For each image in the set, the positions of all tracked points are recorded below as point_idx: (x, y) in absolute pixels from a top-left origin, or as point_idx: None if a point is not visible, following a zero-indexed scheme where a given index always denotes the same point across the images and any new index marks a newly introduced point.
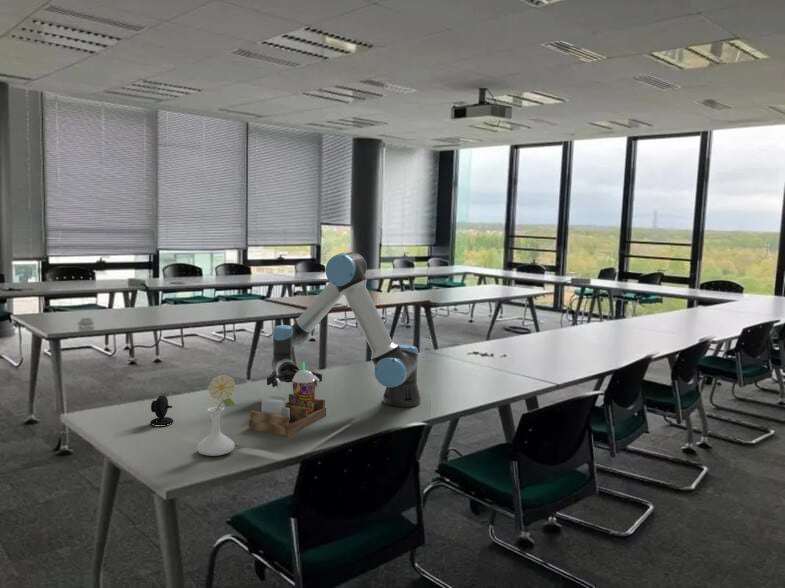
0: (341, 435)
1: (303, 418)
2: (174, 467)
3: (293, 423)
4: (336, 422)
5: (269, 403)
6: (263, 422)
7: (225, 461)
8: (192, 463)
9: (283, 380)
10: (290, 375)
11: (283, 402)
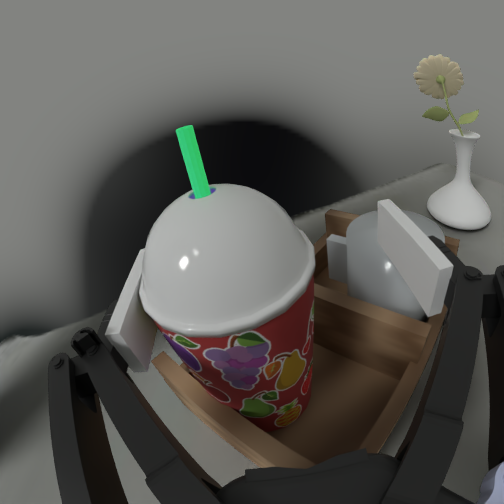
0: None
1: None
2: (477, 189)
3: (315, 250)
4: (161, 375)
5: None
6: None
7: (423, 198)
8: None
9: (409, 428)
10: (335, 458)
11: (350, 225)
